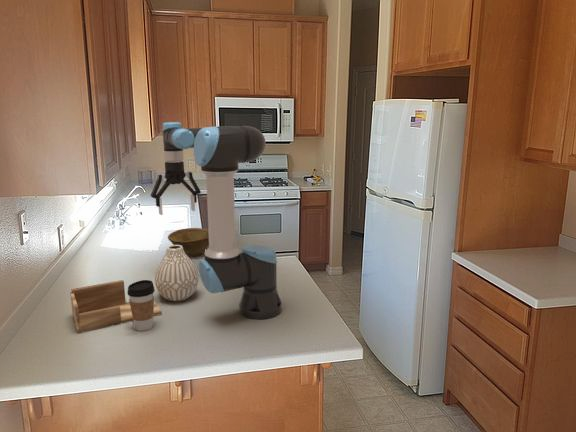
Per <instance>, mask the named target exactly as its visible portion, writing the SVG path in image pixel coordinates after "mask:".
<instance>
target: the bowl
mask: <svg viewBox="0 0 576 432" xmlns="http://www.w3.org/2000/svg"><path fill="white" fill-rule="evenodd" d="M167 239H168V241H170V243H171V244H172V245H181V246H182V247H183V249H184V251H185V253H186V255H187V256H188V257H199V256H202V254H203V253H205V251H206V250H207V249H208V248H209V233H208V228H201V227H200V228H199V227H187V228H181V229H180V228H179V229H177V230H174V231H173V232H171V233H169V234H168V235H167Z"/></svg>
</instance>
